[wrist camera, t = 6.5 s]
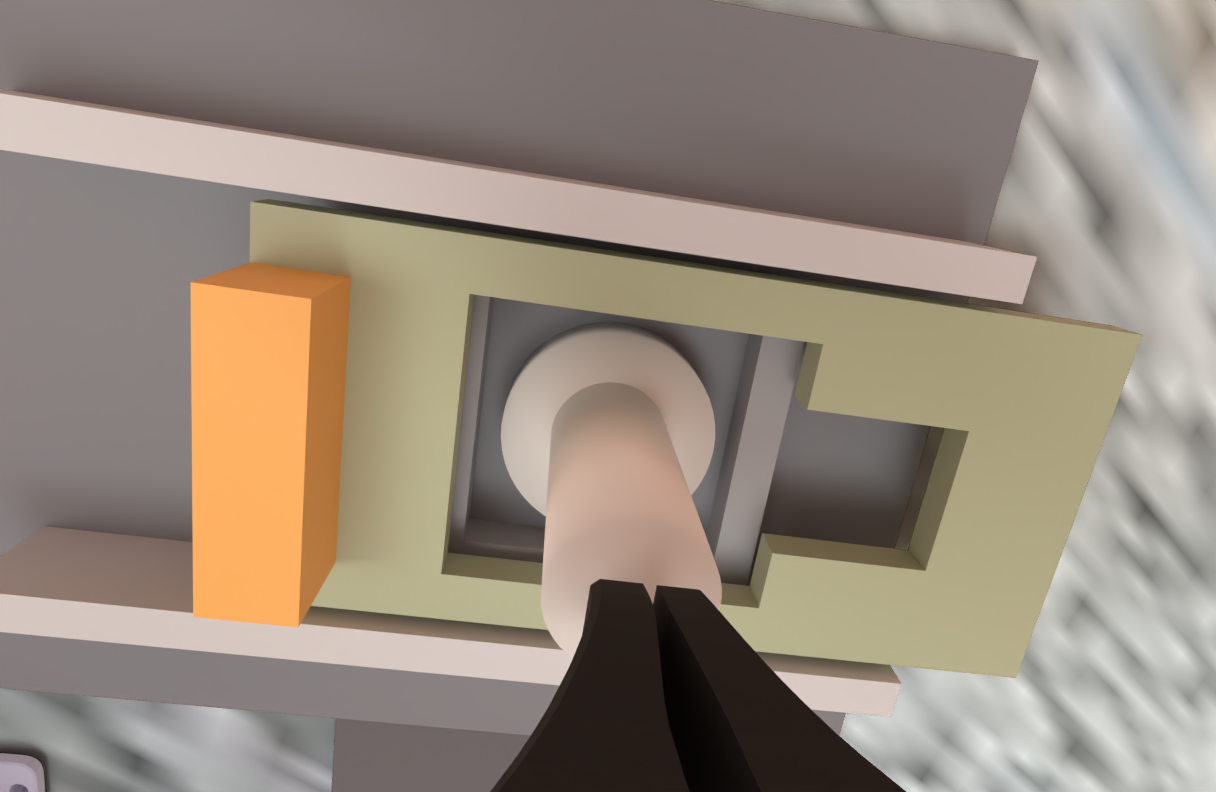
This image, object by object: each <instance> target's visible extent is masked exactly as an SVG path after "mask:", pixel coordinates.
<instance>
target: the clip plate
mask: <svg viewBox="0 0 1216 792" xmlns="http://www.w3.org/2000/svg"><path fill="white" fill-rule="evenodd" d="M474 295H481V296H488V297H495V298H502V299H509V300H516V301H523V302H530V303H537V304H544V305H551V306H558V307H565V308H572V309H579V310H587V311H594V312H601V313H608V314H615V315H622V316H629V317H636V318H643V319H650V320H657V321H664V322H671V323H678V324H685V325H692V326H699V327H706V328H713V329H720V330H727V331H734V332H741V333H748V334H755V335H762V336H769V337H776V338H783V339H790V340H797V341H804V342H807V346H806V350H805V354H804V358H803V362H802V367H801V371H800V375H799V379H798V384H797V388H796V392H795V397H796V398H797V399H798V400H799V401H800V402H801V403H802V404H803V405H804V406H805V408H806V409H807V410H815V411H822V412H830V413H837V414H844V415H852V416H859V417H867V418H874V419H882V420H889V421H897V422H904V423H912V424H919V425H927V426H934V427H942V428H945V429H944V432H943V435H942V439H941V442H940V445H939V449H938V452H937V455H936V459H935V462H934V465H933V468H932V472H931V475H930V478H929V482H928V485H927V488H926V492H925V495H924V498H923V502H922V505H921V508H920V512H919V515H918V518H917V522H916V525H915V528H914V531H913V535H912V538H911V541H910V545H909V548H908V550H901V549H893V548H884V547H876V546H867V545H859V544H850V543H841V542H833V541H824V540H816V539H807V538H799V537H790V536H782V535H773V534H765V533H762V536H761V540H760V544H759V548H758V552H757V557H756V561H755V565H754V569H753V574H752V578H751V582H750V586H745V585H736V584H727V583H721V586H722V599H721V605H720V610H719V611H720V612H721V613H722V615H723V616H724V617H725V618H726V619H727V620H728V621H729V623H730V624H731V625H732V626H733V627H734V628H735V629H736V631H737V632H738V633H739V634H740V635H741V636H742V637H743V638H744V640H745V641H746V642H747V643H748V644H749V645H750V646H751V647H752V649H753V650H754V651H758V652H768V653H778V654H787V655H797V656H807V657H817V658H827V659H836V660H846V661H856V662H866V663H875V664H885V665H895V666H905V667H915V668H924V669H934V670H944V671H954V672H963V673H973V674H983V675H993V676H1003V677H1012V678H1016V676H1017V673H1018V671H1019V668H1020V665H1021V663H1022V660H1023V657H1024V654H1025V652H1026V649H1027V646H1028V644H1029V641H1030V638H1031V636H1032V633H1033V630H1034V627H1035V625H1036V622H1037V619H1038V617H1039V614H1040V611H1041V608H1042V606H1043V603H1044V600H1045V598H1046V595H1047V592H1048V589H1049V587H1050V584H1051V581H1052V579H1053V576H1054V573H1055V570H1056V568H1057V565H1058V562H1059V560H1060V557H1061V554H1062V552H1063V549H1064V546H1065V543H1066V541H1067V538H1068V535H1069V533H1070V530H1071V527H1072V524H1073V522H1074V519H1075V516H1076V514H1077V511H1078V508H1079V505H1080V503H1081V500H1082V497H1083V495H1084V492H1085V489H1086V486H1087V484H1088V481H1089V478H1090V476H1091V473H1092V470H1093V468H1094V465H1095V462H1096V459H1097V457H1098V454H1099V451H1100V449H1101V446H1102V443H1103V440H1104V438H1105V435H1106V432H1107V430H1108V427H1109V424H1110V421H1111V419H1112V416H1113V413H1114V411H1115V408H1116V405H1117V402H1118V400H1119V397H1120V394H1121V392H1122V389H1123V386H1124V384H1125V381H1126V378H1127V375H1128V373H1129V370H1130V367H1131V365H1132V362H1133V359H1134V356H1135V354H1136V351H1137V348H1138V346H1139V343H1140V340H1141V337H1142V335H1141V334H1137V333H1134V332H1131V331H1128V330H1124V329H1121V328H1118V327H1115V326H1112V325H1105V324H1099V323H1092V322H1085V321H1079V320H1072V319H1065V318H1059V317H1052V316H1045V315H1039V314H1032V313H1025V312H1019V311H1012V310H1006V309H999V308H992V307H986V306H979V305H972V304H966V303H959V302H952V301H946V300H939V299H932V298H926V297H919V296H912V295H906V294H899V293H892V292H886V291H879V290H872V289H866V288H859V287H852V286H846V285H839V284H832V283H826V282H819V281H812V280H806V279H799V278H793V277H786V276H779V275H773V274H766V273H759V272H753V271H746V270H739V269H733V268H726V267H719V266H713V265H706V264H699V263H693V262H686V261H679V260H673V259H666V258H659V257H653V256H646V255H639V254H633V253H626V252H619V251H613V250H606V249H599V248H593V247H586V246H580V245H573V244H566V243H560V242H553V241H546V240H540V239H533V238H526V237H520V236H513V235H506V234H500V233H493V232H486V231H480V230H473V229H466V228H460V227H453V226H446V225H440V224H433V223H426V222H420V221H413V220H406V219H400V218H393V217H386V216H380V215H373V214H366V213H360V212H353V211H347V210H340V209H333V208H327V207H320V206H313V205H307V204H300V203H293V202H287V201H280V200H273V199H266V200H259V201H252V202H250V263H247V264H244V265H241V266H238V267H235V268H232V269H229V270H226V271H223V272H220V273H217V274H214V275H211V276H208V277H205V278H202V279H199V280H196V281H193V282H191V403H192V526H193V617H199V618H209V619H219V620H229V621H239V622H249V623H259V624H269V625H279V626H289V627H299V626H300V624H301V622H302V620H303V619H304V617H305V615H306V613H307V612H308V610H309V608H310V606H318V607H328V608H338V609H348V610H357V611H367V612H377V613H387V614H396V615H406V616H416V617H426V618H436V619H445V620H455V621H465V622H475V623H484V624H494V625H504V626H514V627H524V628H533V629H543V630H548V629H547V626H546V624H545V621H544V618H543V614H542V609H541V587H542V571H543V563H537V562H528V561H519V560H510V559H501V558H492V557H483V556H474V555H465V554H456V553H448V545H449V536H450V526H451V516H452V506H453V497H454V487H455V477H456V467H457V457H458V448H459V438H460V428H461V418H462V409H463V399H464V389H465V379H466V370H467V360H468V350H469V340H470V331H471V321H472V311H473V301H474Z"/></svg>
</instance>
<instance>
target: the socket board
mask: <svg viewBox="0 0 1216 792" xmlns="http://www.w3.org/2000/svg"><path fill="white" fill-rule="evenodd" d="M1037 65H1038V60H1032V59H1027V58H1021V57H1016V56H1010V55H1005V54H999V53H994V52H988V51H983V50H978V49H972V48H967V47H961V46H956V45H950V44H945V43H939V42H934V41H929V40H923V39H918V38H912V37H907V36H901V35H896V34H890V33H885V32H879V31H874V30H869V29H863V28H858V27H852V26H847V25H841V24H836V23H830V22H825V21H820V20H814V19H809V18H803V17H798V16H792V15H787V14H781V13H776V12H770V11H765V10H760V9H754V8H749V7H743V6H738V5H732V4H727V3H721V2H716V1H711V0H0V688H4V689H15V690H26V691H37V692H48V693H60V694H71V695H82V696H93V697H105V698H116V699H127V700H138V701H149V702H161V703H172V704H183V705H194V706H206V707H217V708H228V709H239V710H250V711H262V712H273V713H284V714H295V715H307V716H318V717H329V718H340V719H351V720H363V721H374V722H385V723H396V724H408V725H419V726H430V727H441V728H452V729H464V730H475V731H486V732H497V733H509V734H520V735H531V734H532V733H533V731H534V730H535V728H536V726H537V725H538V723H539V722H540V720H541V718H542V717H543V715H544V713H545V712H546V710H547V708H548V706H549V705H550V703H551V701H552V699H553V697H554V695H555V693H556V691H557V689H558V688H559V686H560V684H561V682H562V680H563V678H564V676H565V674H566V672H567V670H568V668H569V666H570V664H571V662H572V659H573V658H572V657H571V656H569V655H568V654H567V653H566V652H565V651H564V650H563V649H562V648H560V647H559V645H558V644H557V643H556V641H555V640H554V639H553V637H552V636H551V634H550V632H549V631H548V630H543V629H533V628H524V627H514V626H504V625H494V624H484V623H475V622H465V621H455V620H445V619H436V618H426V617H416V616H406V615H396V614H387V613H377V612H367V611H357V610H348V609H338V608H328V607H318V606H310V608H309V610H308V612H307V613H306V615H305V617H304V619H303V620H302V622H301V624H300V626H299V627H289V626H279V625H269V624H259V623H249V622H239V621H229V620H219V619H209V618H199V617H193V526H192V403H191V282H193V281H196V280H199V279H202V278H205V277H208V276H211V275H214V274H217V273H220V272H223V271H226V270H229V269H232V268H235V267H238V266H241V265H244V264H247V263H250V202H252V201H259V200H266V199H273V200H280V201H287V202H293V203H300V204H307V205H313V206H320V207H327V208H333V209H340V210H347V211H353V212H360V213H366V214H373V215H380V216H386V217H393V218H400V219H406V220H413V221H420V222H426V223H433V224H440V225H446V226H453V227H460V228H466V229H473V230H480V231H486V232H493V233H500V234H506V235H513V236H520V237H526V238H533V239H540V240H546V241H553V242H560V243H566V244H573V245H580V246H586V247H593V248H599V249H606V250H613V251H619V252H626V253H633V254H639V255H646V256H653V257H659V258H666V259H673V260H679V261H686V262H693V263H699V264H706V265H713V266H719V267H726V268H733V269H739V270H746V271H753V272H759V273H766V274H773V275H779V276H786V277H793V278H799V279H806V280H812V281H819V282H826V283H832V284H839V285H846V286H852V287H859V288H866V289H872V290H879V291H886V292H892V293H899V294H906V295H912V296H919V297H926V298H932V299H939V300H946V301H952V302H959V303H966V304H967V301H968V298H969V296H971V297H978V298H984V299H991V300H997V301H1004V302H1011V303H1017V304H1023V300H1024V297H1025V294H1026V291H1027V288H1028V285H1029V282H1030V278H1031V275H1032V272H1033V269H1034V266H1035V263H1036V260H1037V257H1035V256H1031V255H1026V254H1021V253H1017V252H1012V251H1007V250H1003V249H998V248H993V247H989V246H984V244H985V241H986V237H987V234H988V230H989V227H990V224H991V220H992V217H993V214H994V210H995V207H996V203H997V200H998V197H999V193H1000V190H1001V186H1002V183H1003V180H1004V176H1005V173H1006V170H1007V166H1008V163H1009V159H1010V156H1011V153H1012V149H1013V146H1014V143H1015V139H1016V136H1017V132H1018V129H1019V126H1020V122H1021V119H1022V115H1023V112H1024V109H1025V105H1026V102H1027V99H1028V95H1029V92H1030V88H1031V85H1032V82H1033V78H1034V75H1035V72H1036V68H1037ZM599 322H615V323H625V324H629V325H634V326H638V327H641V328H643V329H646V330H649V331H651V332H653V333H655V334H657V335H659V336H661V337H662V338H664V339H665V340H667V341H668V342H670V343H671V344H672V345H673V346H674V347H675V348H677V349H678V350H679V351H680V352H681V353H682V354H683V355H684V357H685V358H686V359H687V360H688V361H689V363H690V364H691V366H692V367H693V369H694V371H695V372H696V374H697V376H698V377H699V379H700V381H701V382H702V384H703V386H704V388H705V390H706V392H707V394H708V397H709V399H710V402H711V406H712V409H713V413H714V420H715V443H714V451H713V454H712V458H711V462H710V465H709V467H708V469H707V472H706V474H705V476H704V478H703V479H702V481H701V483H700V484H699V486H698V488H697V489H696V490H695V491H694V493H693V494H692V495H691V496H692V499H693V502H694V505H695V507H696V510H697V513H698V516H699V518H700V521H701V524H702V527H703V530H704V532H705V535H706V538H707V541H708V543H709V546H710V549H711V552H712V554H713V557H714V560H715V563H716V566H717V568H718V572H719V575H720V579H721V583H727V584H736V585H745V586H750V582H751V578H752V574H753V569H754V565H755V561H756V557H757V552H758V548H759V544H760V540H761V536H762V533H765V534H773V535H782V536H790V537H799V538H807V539H816V540H824V541H833V542H841V543H850V544H859V545H867V546H876V547H884V548H893V549H894V548H895V545H896V542H897V538H898V535H899V531H900V528H901V525H902V521H903V518H904V514H905V511H906V508H907V504H908V501H909V498H910V494H911V491H912V487H913V484H914V481H915V477H916V474H917V471H918V467H919V464H920V460H921V457H922V454H923V450H924V447H925V443H926V440H927V437H928V433H929V430H930V427H931V426H927V425H919V424H912V423H904V422H897V421H889V420H882V419H874V418H867V417H859V416H852V415H844V414H837V413H830V412H822V411H815V410H807V409H806V408H805V406H804V405H803V404H802V403H801V402H800V401H799V400H798V399H797V398H796V397H795V392H796V388H797V384H798V379H799V375H800V371H801V367H802V362H803V358H804V354H805V350H806V346H807V342H804V341H797V340H790V339H783V338H776V337H769V336H762V335H755V334H748V333H741V332H734V331H727V330H720V329H713V328H706V327H699V326H692V325H685V324H678V323H671V322H664V321H657V320H650V319H643V318H636V317H629V316H622V315H615V314H608V313H601V312H594V311H587V310H579V309H572V308H565V307H558V306H551V305H544V304H537V303H530V302H523V301H516V300H509V299H502V298H495V297H488V296H481V295H474V301H473V311H472V321H471V331H470V340H469V350H468V360H467V370H466V379H465V389H464V399H463V409H462V418H461V428H460V438H459V448H458V457H457V467H456V477H455V487H454V497H453V506H452V516H451V526H450V536H449V545H448V553H456V554H465V555H474V556H483V557H492V558H501V559H510V560H519V561H528V562H537V563H543V555H544V539H545V523H546V516H544V515H543V514H541V513H540V512H539V511H538V510H536V509H535V508H534V507H533V506H532V505H531V504H530V503H529V502H528V501H527V500H526V499H525V498H524V497H523V496H522V494H521V493H520V492H519V490H518V489H517V488H516V486H515V484H514V482H513V481H512V479H511V477H510V475H509V472H508V470H507V467H506V465H505V461H504V457H503V453H502V445H501V424H502V419H503V413H504V409H505V405H506V401H507V397H508V394H509V391H510V388H511V385H512V383H513V381H514V379H515V377H516V375H517V373H518V371H519V369H520V368H521V367H522V365H523V364H524V362H525V361H526V360H527V359H528V358H529V356H530V355H531V354H532V353H533V352H534V351H535V350H536V349H537V348H539V347H540V346H541V345H542V344H543V343H545V342H546V341H548V340H549V339H551V338H552V337H554V336H556V335H557V334H560V333H562V332H564V331H566V330H568V329H571V328H574V327H577V326H581V325H585V324H591V323H599ZM755 652H756V653H757V654H758V655H759V656H760V657H761V658H762V660H763V661H764V662H765V663H766V664H767V665H768V666H769V667H770V668H771V669H772V670H773V671H774V672H775V673H776V675H777V676H778V677H779V678H780V679H781V680H782V681H783V682H784V683H785V684H786V685H787V686H788V687H789V688H790V689H791V690H792V691H793V692H794V693H795V694H796V695H797V696H798V697H799V698H800V699H801V700H802V701H803V702H804V703H805V704H806V705H807V706H808V707H809V708H810V709H811V710H812V711H813V712H814V713H815V714H817V715H818V716H819V717H820V718H821V719H822V720H823V721H824V722H825V723H826V724H827V725H828V726H829V727H830V728H831V729H832V730H833V731H834V732H836V733H837V734H838V735H839V734H840V731H841V727H842V724H843V721H844V717H845V714H846V713H854V714H864V715H874V716H885V717H891V716H892V713H893V710H894V707H895V704H896V700H897V697H898V694H899V691H900V688H901V685H902V684H901V682H900V680H899V679H898V677H897V676H896V674H895V672H894V671H893V669H892V668H891V666H890V665H885V664H875V663H866V662H856V661H846V660H836V659H827V658H817V657H807V656H797V655H787V654H778V653H768V652H758V651H755Z"/></svg>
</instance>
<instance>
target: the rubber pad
mask: <svg viewBox="0 0 1216 792" xmlns="http://www.w3.org/2000/svg"><path fill="white" fill-rule="evenodd" d="M530 736H531V735H520V734H509V733H497V732H486V731H475V730H464V729H452V728H441V727H430V726H419V725H408V724H396V723H385V722H374V721H363V720H351V719H340V718H336V724H335V741H334V758H333V775H332V792H490V791H491V790H492V789H493V787H494V786H495V785H496V783H497V782H498V781H499V779H500V778H501V777H502V775H503V774H504V773H505V771H506V770H507V769H508V767H509V766H510V765H511V763H512V762H513V761H514V759H515V758H516V757H517V755H518V754H519V752H520V751H521V749H522V748H523V746H524V745H525V743H526V742H527V740H528V739H529V737H530Z"/></svg>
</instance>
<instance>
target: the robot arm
mask: <svg viewBox="0 0 1216 792" xmlns="http://www.w3.org/2000/svg"><path fill="white" fill-rule="evenodd" d="M23 785H24V786H25V787H24V786H23ZM0 792H45V783H44V770H43V767H42V764H41V763H40V762H39V761H38V760H37V759H35V758H34V757H31V756H27V755H17V754H5V753H0ZM490 792H906V791H905V790H903V789H902V788H901V787H900V786H898V785H897V784H896V783H895V782H893V781H892V780H891V779H890V778H889V777H887V776H886V775H885V774H884V773H882V772H881V771H880V770H879V769H878V768H876V767H875V766H874V765H873V764H871V763H870V762H869V761H868V760H867V759H865V758H864V757H863V756H862V755H860V754H859V753H858V752H857V751H856V750H855V749H854V748H852V747H851V746H850V745H849V744H848V743H847V742H846V741H844V740H843V739H842V738H841V737H840V736H839V735H838V734H837V733H836V732H834V731H833V730H832V729H831V728H830V727H829V726H828V725H827V724H826V723H825V722H824V721H823V720H822V719H821V718H820V717H819V716H818V715H817V714H815V713H814V712H813V711H812V710H811V709H810V708H809V707H808V706H807V705H806V704H805V703H804V702H803V701H802V700H801V699H800V698H799V697H798V696H797V695H796V694H795V693H794V692H793V691H792V690H791V689H790V688H789V687H788V686H787V685H786V684H785V683H784V682H783V681H782V680H781V679H780V678H779V677H778V676H777V675H776V673H775V672H774V671H773V670H772V669H771V668H770V667H769V666H768V665H767V664H766V663H765V662H764V661H763V660H762V658H761V657H760V656H759V655H758V654H757V653H756V652H755V651H754V650H753V649H752V647H751V646H750V645H749V644H748V643H747V642H746V641H745V640H744V638H743V637H742V636H741V635H740V634H739V633H738V632H737V631H736V629H735V628H734V627H733V626H732V625H731V624H730V623H729V621H728V620H727V619H726V618H725V617H724V616H723V615H722V613H721V612H720V611H719V610H718V609H717V608H716V607H715V605H714V604H713V603H712V602H711V601H710V600H709V599H708V598H707V597H706V596H705V594H704V593H703V592H702V591H701V590H698V589H689V588H680V587H671V586H662V585H657V586H656V592H655V597H654V602H653V603H652V601H651V598H650V596H649V594H648V592H647V590H646V588H645V586H644V584H643V583H634V582H625V581H616V580H607V579H599V580H597V581H596V582H594V583H593V584H591V585H590V590H589V596H588V603H587V609H586V615H585V621H584V627H583V633H582V637H581V639H580V642H579V644H578V647H577V649H576V652H575V654H574V657H573V659H572V662H571V664H570V666H569V668H568V670H567V672H566V674H565V676H564V678H563V680H562V682H561V684H560V686H559V688H558V689H557V691H556V693H555V695H554V697H553V699H552V701H551V703H550V705H549V706H548V708H547V710H546V712H545V713H544V715H543V717H542V718H541V720H540V722H539V723H538V725H537V726H536V728H535V730H534V731H533V733H532V734H531V736H530V737H529V739H528V740H527V742H526V743H525V745H524V746H523V748H522V749H521V751H520V752H519V754H518V755H517V757H516V758H515V759H514V761H513V762H512V763H511V765H510V766H509V767H508V769H507V770H506V771H505V773H504V774H503V775H502V777H501V778H500V779H499V781H498V782H497V783H496V785H495V786H494V787H493V789H492V790H491V791H490Z"/></svg>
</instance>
